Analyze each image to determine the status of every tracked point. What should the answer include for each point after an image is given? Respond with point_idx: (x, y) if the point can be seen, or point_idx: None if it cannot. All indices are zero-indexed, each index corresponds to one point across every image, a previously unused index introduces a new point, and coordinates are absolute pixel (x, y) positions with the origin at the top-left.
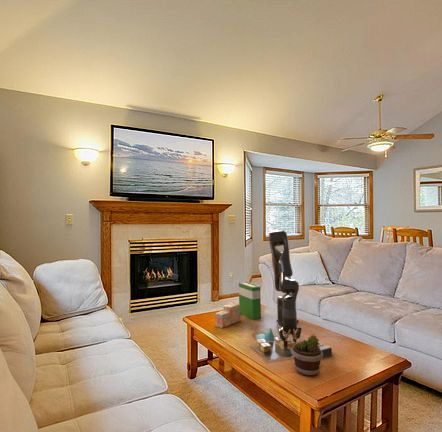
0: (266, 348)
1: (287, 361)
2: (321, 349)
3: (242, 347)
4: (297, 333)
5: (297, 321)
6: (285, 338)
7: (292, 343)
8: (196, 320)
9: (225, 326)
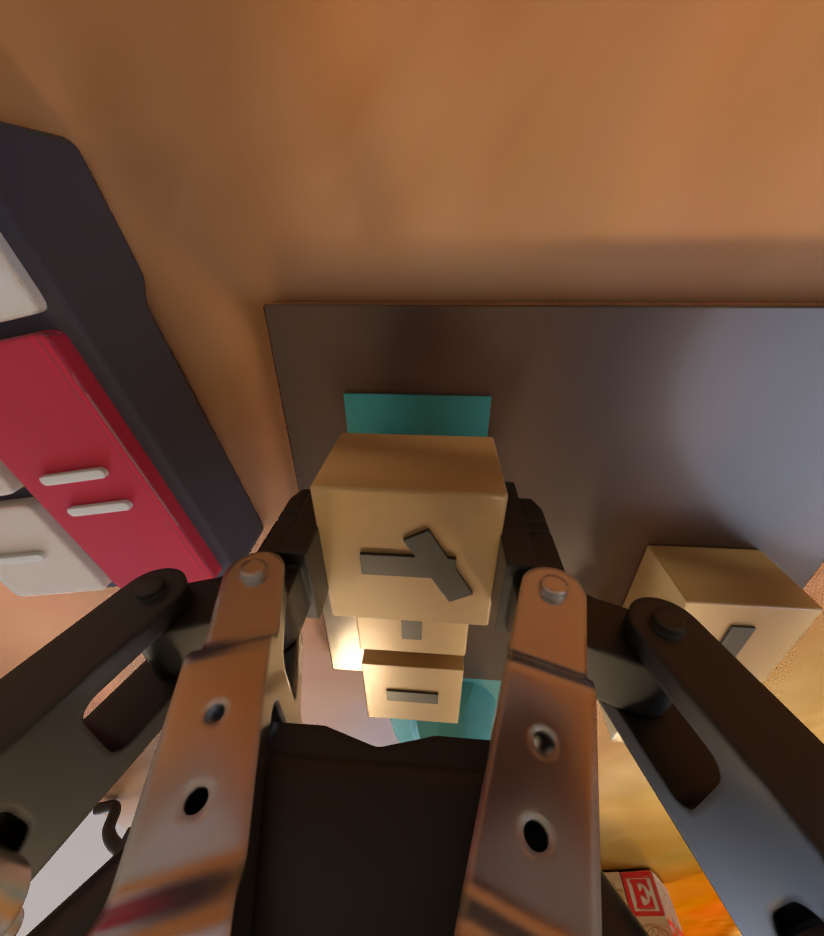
0: (751, 580)
1: (638, 224)
2: None
3: (805, 687)
4: (111, 721)
5: (106, 803)
6: (582, 638)
7: (402, 485)
8: (703, 929)
9: (615, 874)
